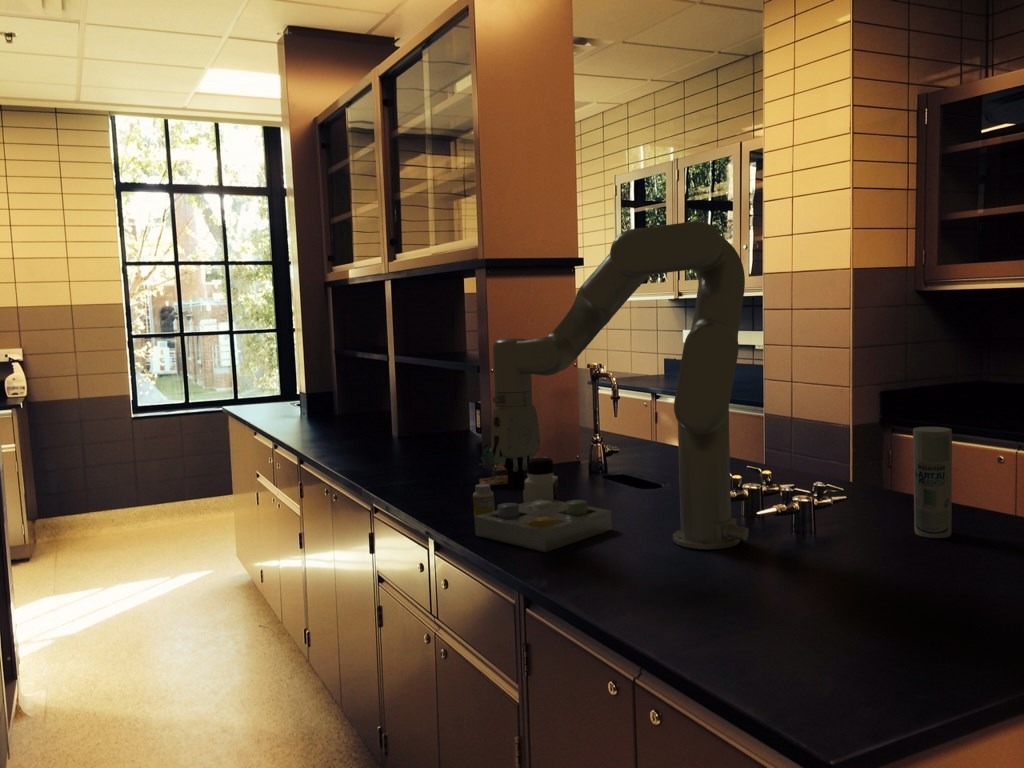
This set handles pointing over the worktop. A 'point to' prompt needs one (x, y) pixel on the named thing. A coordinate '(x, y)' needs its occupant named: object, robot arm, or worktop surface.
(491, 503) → the supplement bottle
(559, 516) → the panel
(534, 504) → the ivory button
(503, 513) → the slate button
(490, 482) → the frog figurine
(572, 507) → the sage button
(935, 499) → the spray can
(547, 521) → the amber rounded lump
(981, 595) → the worktop surface
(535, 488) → the medicine bottle
